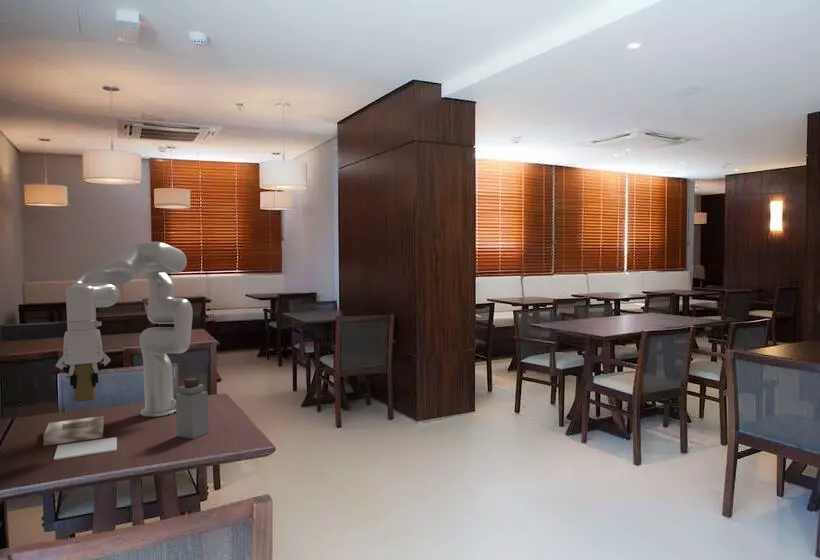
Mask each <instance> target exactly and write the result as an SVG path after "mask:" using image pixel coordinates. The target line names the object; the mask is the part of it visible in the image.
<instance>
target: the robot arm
mask: <svg viewBox="0 0 820 560" xmlns="http://www.w3.org/2000/svg"><path fill="white" fill-rule="evenodd" d="M187 263H188V262H187V257H186V254H185V252H184V251H182V250H181V249H179V248H177V247H174V246H172V245H170V244H168V243H165V242H161V241H136V242H133V243H130V244H129V245H128V246H127V247H125V249H124V250H123V251H122V252H121V253H120V254H119V255H118V256H117V257H115V258H114V259H113V260H112V261H111V262H108V263H106V264H103V265H101V266H98V267H96V268H93V269H92V270H89V271H87V272H86V273H84V274H83V275H81V276H80V277H79V278H78V279H77V280H75V282H73V283H72V285H70V286H69V285H68V286H67V287H66V289H65V299H66V303H65V305H66V306H65V307H66V325H67V331H65V332H64V336H63V346H62V347H63V348H62V349H63V351H62V354H63V355H61V357H60V358H59V359H58V361H57V362H56V364H55V367H56V368H58V369H60V370H62V371H63V372H65V373H66V375H68V376H69V385H70V386H71V387H72V390H75V388H76V374H75V372H74V369H75V365H82V364H92V367H93V372H92V377H93V386H94V387H95V388H96V387H97V384H99V372H100V371H101V370H102V369H103V368H104V367H106V366H107V365H108V364H109V363H110V362H112V361H111V358H110V357H109V356H108V355H107V354H106V353H105V352H104V351H103V340H102V335H101V331H100V329H99V328H98V327H101V326H103V325H102V321H101V320H100V321H98V320H97V310H96V308H109V307H111V306H114V305H115V304H116V303H117V302H118V301H119V298H120V291H119V288H118V287H117V286H120V285H123V284H126V283H130V282H131V281H133V279H135V278H136V277H137V275H138V274H139V273H140V272H141V271H142V272H143V274H144V276H145V277H146V279H147V282H148V285H149V286H148V287H149V288H148V289H149V292H148V301H147V313H146V316H147V319H148V321H149V322H150V323H152V324H158V325H159V324H160V325H161V324H169V325H171V324H173V325H174V327H173V326H172V327H170V326H169V327H167V326H164V327H163V326H153V327H148V328H145V329H144V330H143V331H142V332H141V333H140V335H139V345H140V346H139V348H140V350H141V351H140V352H141V354H142V360H143V361H142V362H143V363H142V364H143V385H144V387H143V389H144V408H143V409H141V410H140V415H141V417H146V418H147V417H149V418H152V417H153V418H155V417H164V416H168V414H169V415H172V414H174V412H175V413H176V399H175V398H174V394H173V391H174V390H173V364H172V361H171V358H170V357H169V356H168V354H182V353H186V351H188V350H189V347H190V343H191V338H192V327H193V314H194V312H193V306H192V303H191V302H190V301H189V300H188V299H186V298H183V297H175V296H174V295H175V284H174V282H173V280H172V278H171V277H170V276H169V275H168V274H178V273H182V272H183V271H184V270H185V269H186V268H187V267H186V266H187ZM97 328H98V329H97ZM98 363H99V364H98Z"/></svg>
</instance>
